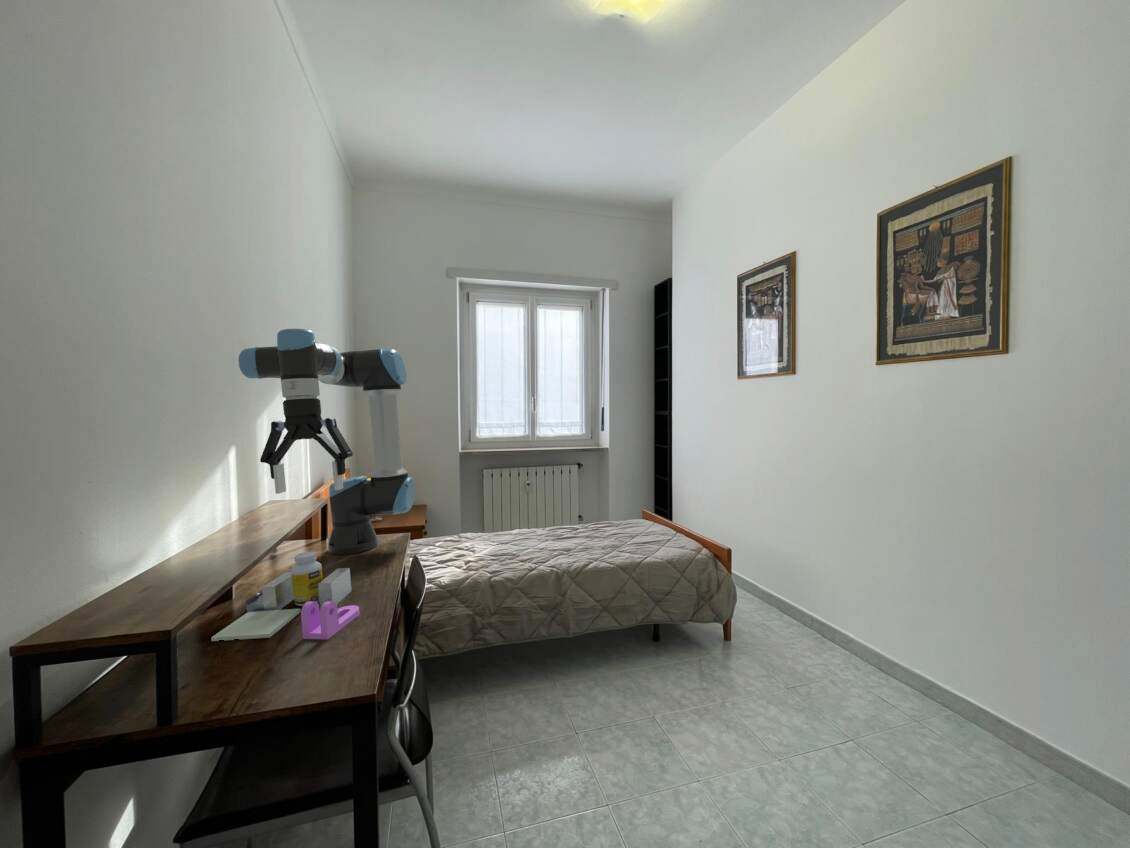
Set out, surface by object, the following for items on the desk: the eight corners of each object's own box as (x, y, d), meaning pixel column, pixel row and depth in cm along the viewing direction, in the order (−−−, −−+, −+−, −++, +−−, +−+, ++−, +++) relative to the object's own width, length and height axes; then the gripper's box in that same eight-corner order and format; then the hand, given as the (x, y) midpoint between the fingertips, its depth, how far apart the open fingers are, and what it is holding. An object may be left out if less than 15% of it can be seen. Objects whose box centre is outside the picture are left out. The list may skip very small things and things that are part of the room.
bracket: (328, 640, 98) (325, 606, 98) (303, 639, 99) (300, 606, 99) (364, 611, 111) (361, 581, 111) (342, 611, 112) (339, 581, 112)
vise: (268, 596, 124) (265, 573, 123) (351, 591, 124) (349, 567, 123) (242, 613, 114) (239, 588, 113) (333, 608, 114) (330, 582, 113)
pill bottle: (305, 609, 114) (300, 560, 114) (288, 604, 117) (284, 557, 117) (330, 598, 120) (326, 551, 119) (314, 594, 123) (310, 549, 122)
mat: (248, 615, 113) (248, 611, 113) (300, 611, 113) (300, 608, 113) (211, 641, 101) (211, 637, 101) (269, 637, 101) (269, 633, 101)
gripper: (236, 401, 108) (245, 497, 109) (347, 394, 107) (355, 490, 108) (258, 401, 115) (267, 490, 116) (362, 394, 114) (370, 484, 115)
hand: (309, 491), depth 112 cm, fingers open, 13 cm apart
